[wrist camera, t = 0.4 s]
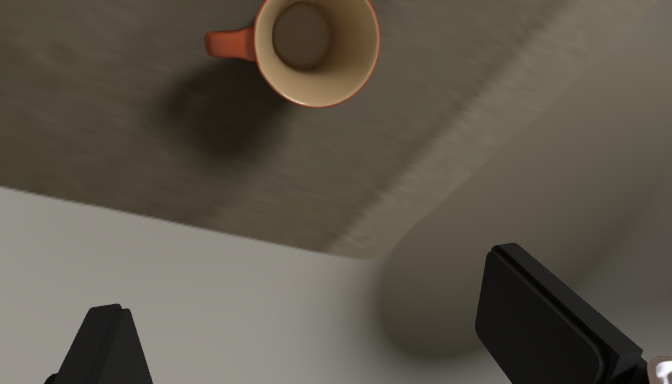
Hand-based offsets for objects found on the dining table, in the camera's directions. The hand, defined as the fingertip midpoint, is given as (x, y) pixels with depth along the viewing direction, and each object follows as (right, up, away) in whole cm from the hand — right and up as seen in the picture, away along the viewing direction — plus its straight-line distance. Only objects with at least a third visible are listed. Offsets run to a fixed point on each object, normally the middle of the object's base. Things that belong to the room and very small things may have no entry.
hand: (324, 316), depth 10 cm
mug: (-5, +17, +25) cm, 31 cm away
